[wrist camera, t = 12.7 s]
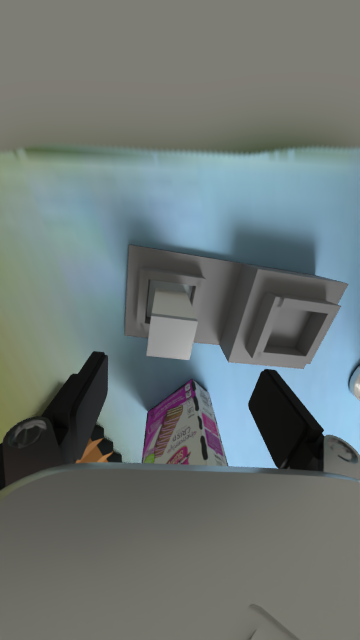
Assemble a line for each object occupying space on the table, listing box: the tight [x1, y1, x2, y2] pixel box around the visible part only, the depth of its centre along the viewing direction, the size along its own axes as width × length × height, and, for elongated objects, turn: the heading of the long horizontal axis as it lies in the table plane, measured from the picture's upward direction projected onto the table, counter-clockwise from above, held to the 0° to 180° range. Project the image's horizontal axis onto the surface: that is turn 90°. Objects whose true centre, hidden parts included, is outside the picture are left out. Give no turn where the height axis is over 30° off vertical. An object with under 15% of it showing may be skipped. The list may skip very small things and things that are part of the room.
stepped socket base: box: [125, 245, 348, 369], centre depth 23 cm, size 25×12×7 cm, turn 81°
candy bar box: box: [142, 379, 228, 466], centre depth 26 cm, size 11×5×16 cm, turn 132°
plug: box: [146, 288, 198, 360], centre depth 20 cm, size 4×4×9 cm
